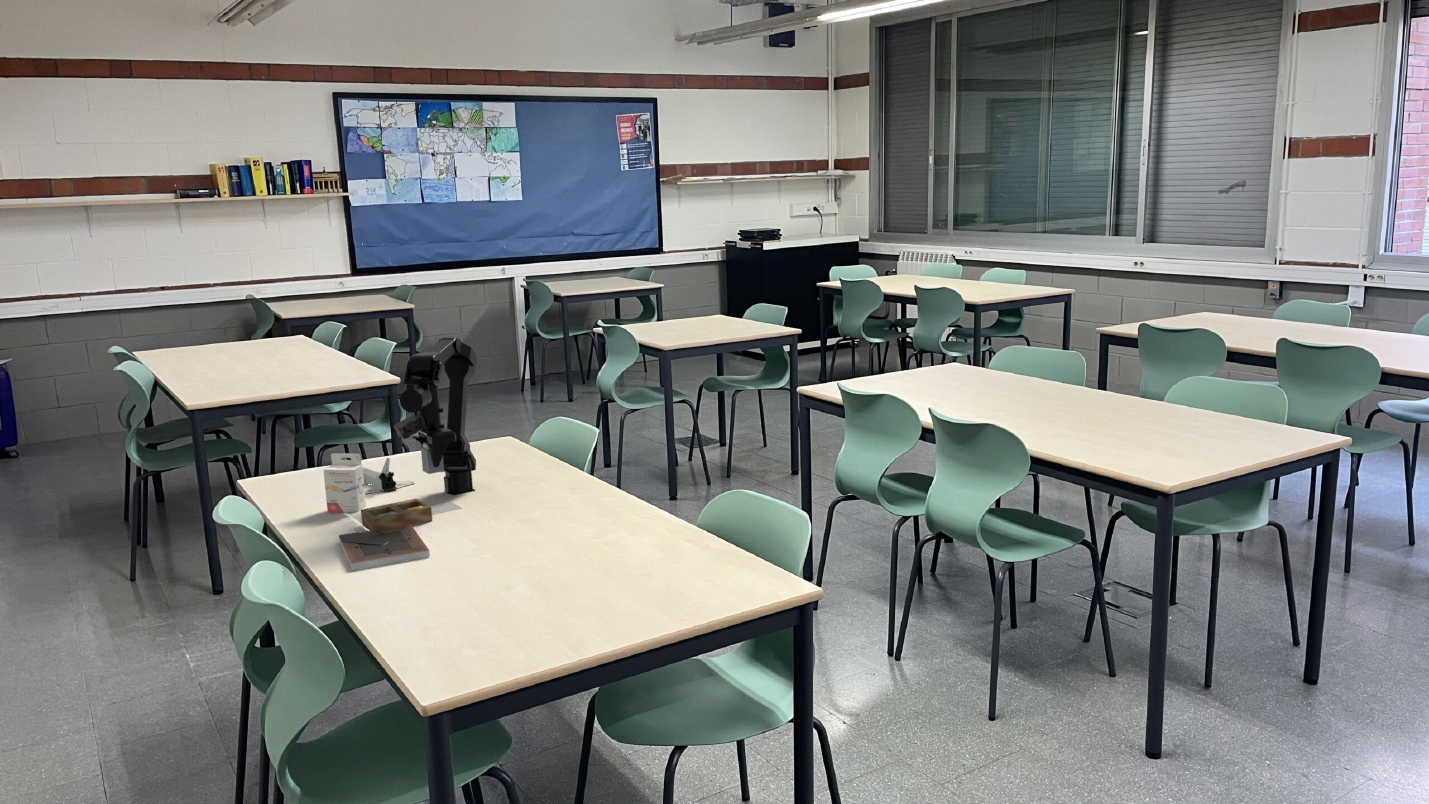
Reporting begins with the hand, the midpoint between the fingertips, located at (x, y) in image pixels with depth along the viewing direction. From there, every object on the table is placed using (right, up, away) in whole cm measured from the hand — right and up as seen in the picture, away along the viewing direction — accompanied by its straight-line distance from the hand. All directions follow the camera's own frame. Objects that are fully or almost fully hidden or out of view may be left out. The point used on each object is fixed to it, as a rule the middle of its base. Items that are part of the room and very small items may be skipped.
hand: (433, 465), depth 257 cm
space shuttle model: (-25, -8, +31) cm, 40 cm away
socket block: (-7, -14, -7) cm, 17 cm away
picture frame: (-4, -19, -24) cm, 31 cm away
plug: (0, -1, 0) cm, 2 cm away
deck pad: (+1, -12, +4) cm, 12 cm away
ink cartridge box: (-24, -12, +6) cm, 27 cm away
